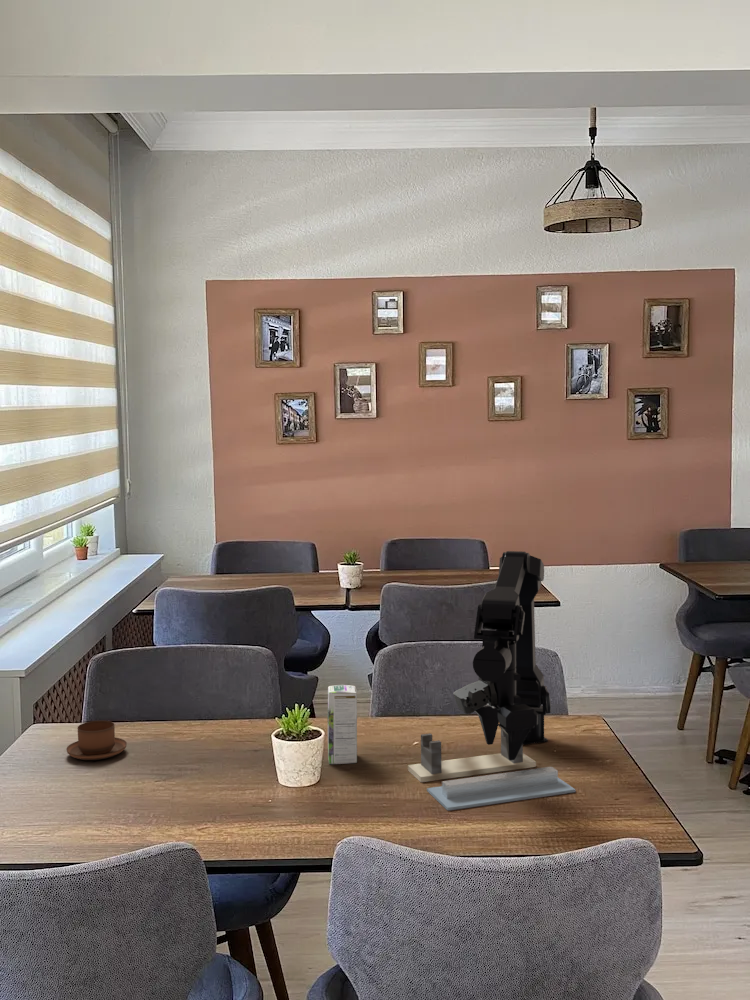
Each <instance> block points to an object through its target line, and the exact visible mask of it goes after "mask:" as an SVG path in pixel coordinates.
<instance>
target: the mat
mask: <svg viewBox="0 0 750 1000" xmlns="http://www.w3.org/2000/svg"><path fill="white" fill-rule="evenodd" d="M426 791H427V792H428V793H429V795H431V796H432V798H434V800H436V801H437V802H438V803H439V804H440V805H441V806H442V807H443V808H444V809H445V810H447V811H455V810H462V809H468V808H476V807H482V806H483V807H484V806H488V805H489V806H491V805H495V804H502V803H509V802H517V801H523V800H530V799H536V798H537V799H538V798H543V797H544V798H545V797H550V796H551V797H552V796H558V795H565V794H572V793H576V789H575V788H574V787H573V786H571V785H570V784H569V783H567V782H566V781H564V780H563V779H561V778H559V777H558V783H557V784H550V785H543V786H536V787H529V788H522V789H515V790H508V791H501V792H494V793H487V794H479V795H472V796H465V797H458V798H451V799H447V798H445V797H444V796H443V795H442V785H441V786H434V787H433V786H432V787H427V788H426Z"/></svg>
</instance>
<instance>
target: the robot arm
mask: <svg viewBox="0 0 750 1000" xmlns="http://www.w3.org/2000/svg"><path fill="white" fill-rule="evenodd" d="M498 563H499V565H498V575H497V579H496V582H495V585H494V588H493V589H492V590H490V591H488V592H485V594H484V596H483V597H482V600H481V603H479V604H478V606H477V611H476V619H475V625H474V633H473V639H474V640H481V641H482V646H481V648H480V649H479V650H478V651H477V652H476V654H475V655H474V657H473V660H472V668H473V671H474V673H475V674H476V676H478V680H476V681H473V682H469V684H466V685H464V686H463V687H460V688H459V689H457V690H454V691H453V693H452V696H453V697H454V700H455V703H456V705H457V708H458V710H461V711H462V712H463V713H464V714H466V715H470V714H472V713H476V714H477V715H478V719H479V722H480V724H481V725H480V726H481V728H482V732H483V736H484V740H485V742H486V744H487V746H489V745H494V742H495V738H496V735H497V732H498V727H499V728H500V730H501V729H502V730H503V731H504V732H505V738H506V746H507V754H508V759H509V760H515V758H516V756H517V754H518V752H519V750H520V748H521V746H522V744H523V746H525V745H532V744H534V745H535V744H541V743H547V742H549V739H548V738H547V737H546V736H545V716H546V715H547V714H551V712H552V710H551V708H552V704H551V703H552V702H551V695H550V692H549V691H548V687H547V685H545V679H544V678H545V677H544V676H545V675H544V674H543V673H542V671H541V669H540V668H539V667H538V665H537V663H536V660H537V659H536V631H535V630H536V627H535V626H536V625H535V623H536V622H535V598H536V596H537V594H538V593H539V590H540V588H541V586H542V582H544V579H545V565H544V562H543V560H542V559H541V558H538V557H536V556H533V555H530V553H529V552H526V551H523V550H522V551H521V550H520V551H517V550H516V551H515V550H514V551H513V550H508V551H503V552H502V556H501V557H499V562H498Z"/></svg>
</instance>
